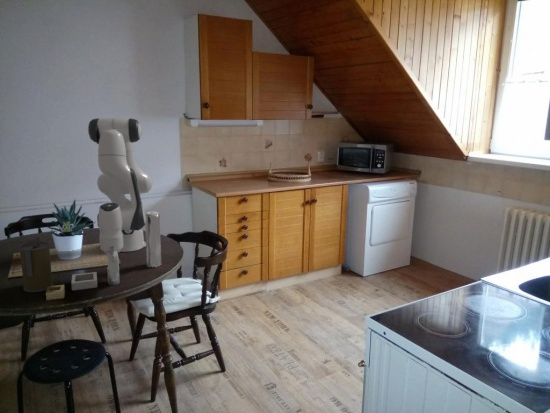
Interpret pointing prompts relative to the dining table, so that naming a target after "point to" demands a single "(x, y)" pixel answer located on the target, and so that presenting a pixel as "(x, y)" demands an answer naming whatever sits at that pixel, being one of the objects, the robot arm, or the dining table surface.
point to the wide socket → (84, 281)
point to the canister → (35, 265)
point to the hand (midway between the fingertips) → (113, 275)
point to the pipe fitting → (113, 281)
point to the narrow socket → (55, 292)
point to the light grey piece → (153, 239)
